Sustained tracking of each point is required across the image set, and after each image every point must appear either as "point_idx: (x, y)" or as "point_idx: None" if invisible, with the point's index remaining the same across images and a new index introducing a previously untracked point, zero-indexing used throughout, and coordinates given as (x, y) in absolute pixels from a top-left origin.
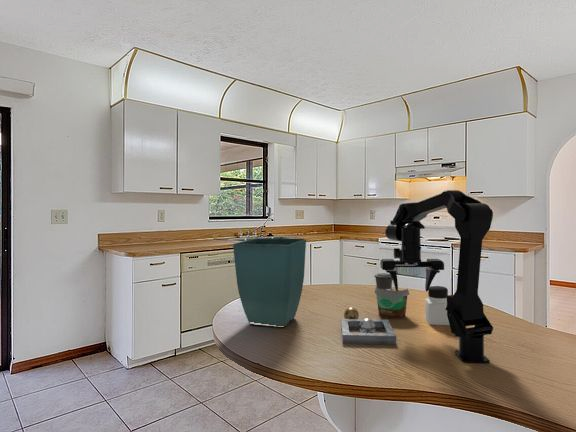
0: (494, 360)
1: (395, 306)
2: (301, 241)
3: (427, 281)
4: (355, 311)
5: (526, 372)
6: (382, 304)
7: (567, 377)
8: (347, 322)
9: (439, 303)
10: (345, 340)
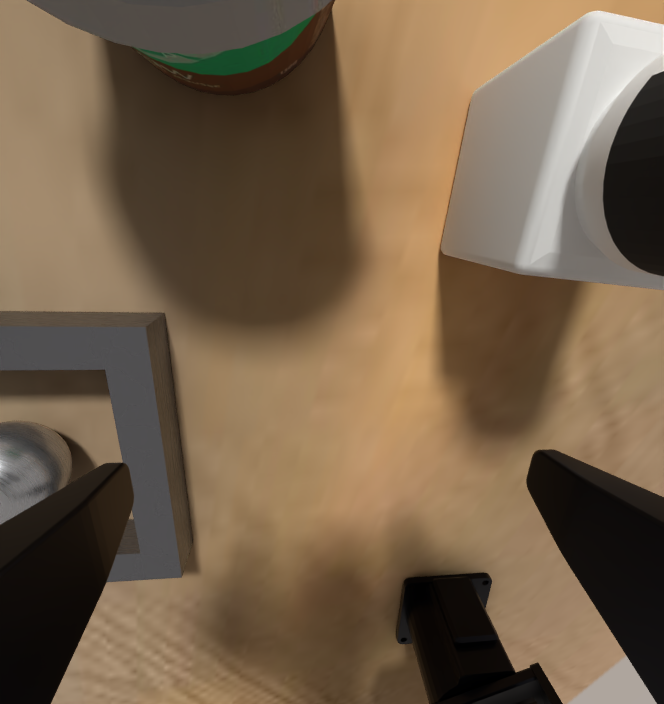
0: (500, 609)
1: (215, 65)
2: None
3: (654, 653)
4: None
5: (534, 657)
6: None
7: (609, 663)
8: None
9: (612, 273)
10: None
